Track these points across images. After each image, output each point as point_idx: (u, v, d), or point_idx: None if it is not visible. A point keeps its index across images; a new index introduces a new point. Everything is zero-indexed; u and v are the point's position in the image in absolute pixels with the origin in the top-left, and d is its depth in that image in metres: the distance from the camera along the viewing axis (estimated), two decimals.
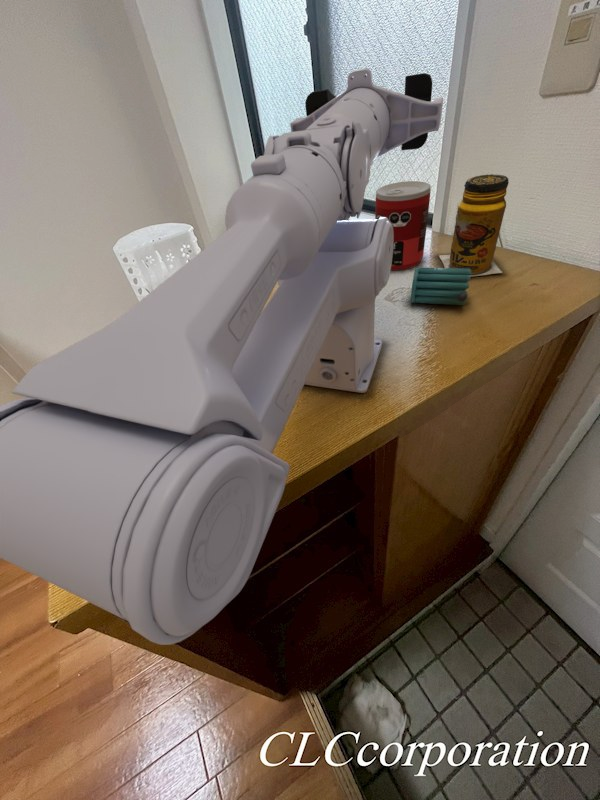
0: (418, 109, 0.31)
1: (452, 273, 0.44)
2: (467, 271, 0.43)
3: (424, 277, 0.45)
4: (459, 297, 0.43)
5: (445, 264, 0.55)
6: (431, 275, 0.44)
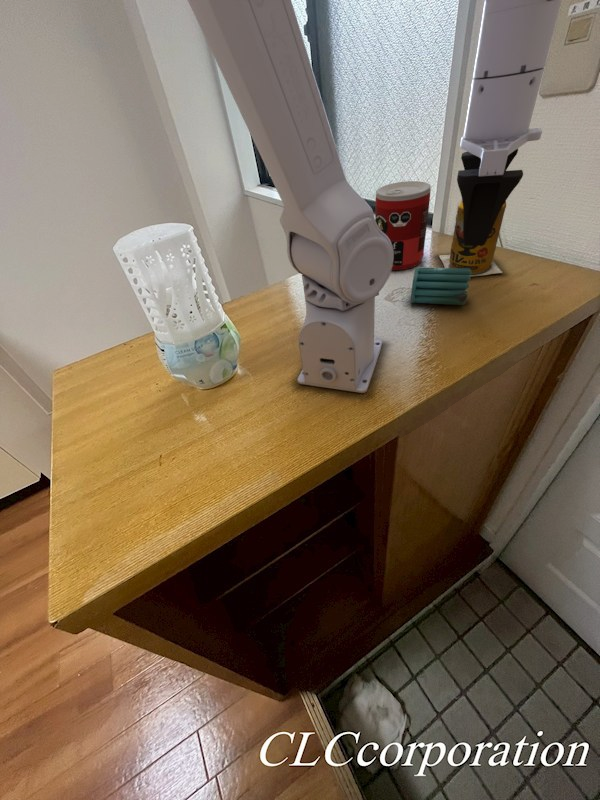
0: None
1: (452, 273, 0.44)
2: (467, 271, 0.43)
3: (424, 277, 0.45)
4: (459, 297, 0.43)
5: (445, 264, 0.55)
6: (431, 275, 0.44)
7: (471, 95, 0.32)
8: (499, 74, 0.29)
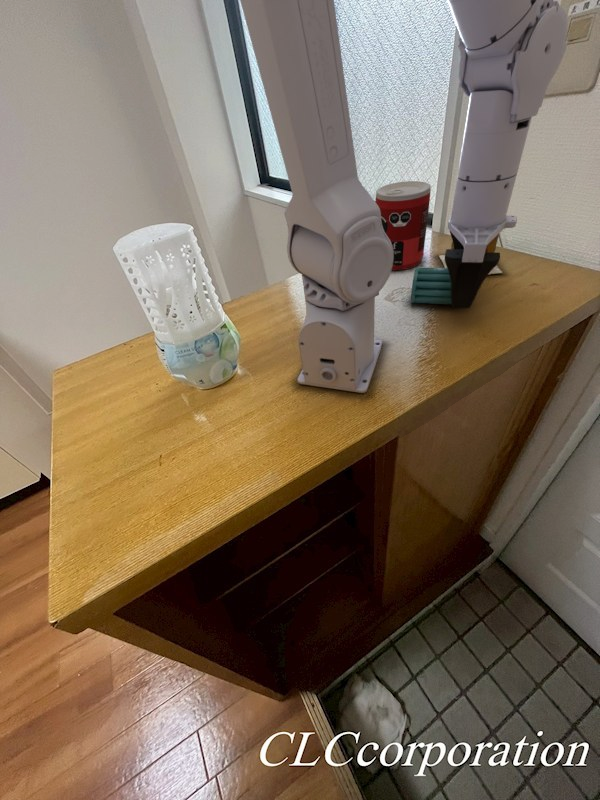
0: (482, 241, 0.36)
1: None
2: None
3: (424, 277, 0.45)
4: None
5: (445, 264, 0.55)
6: (431, 275, 0.44)
7: (456, 190, 0.37)
8: (478, 180, 0.35)
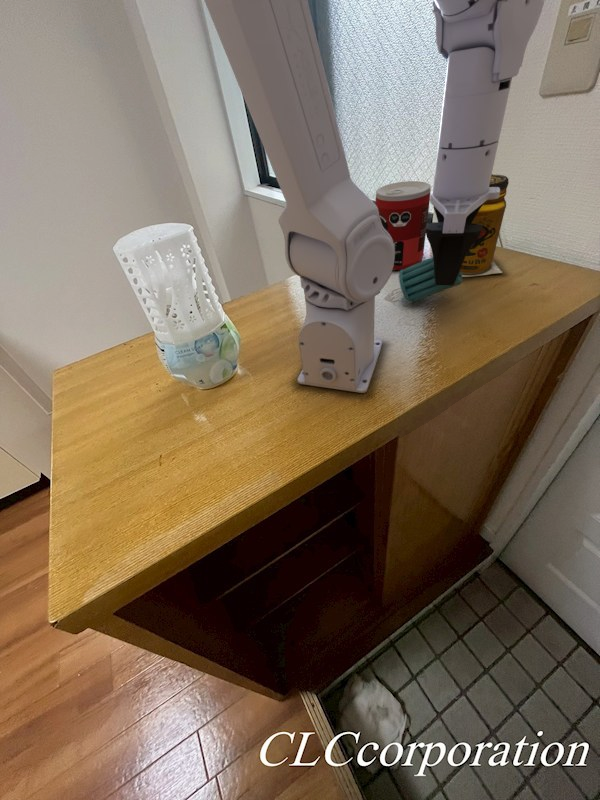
0: (463, 211, 0.35)
1: None
2: None
3: (409, 275, 0.45)
4: None
5: None
6: (414, 271, 0.45)
7: (437, 160, 0.36)
8: (458, 147, 0.33)
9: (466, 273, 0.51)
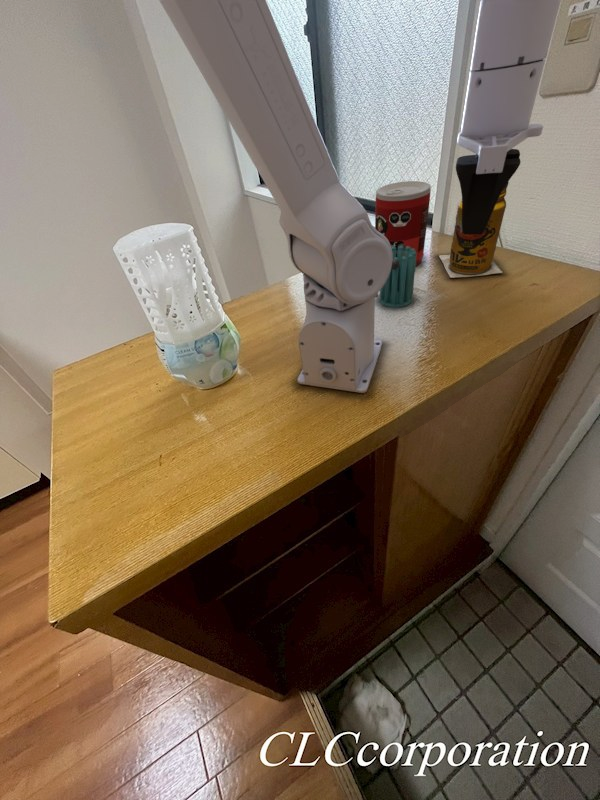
0: None
1: None
2: None
3: (382, 294, 0.48)
4: (393, 268, 0.43)
5: (445, 264, 0.55)
6: None
7: (468, 89, 0.30)
8: (498, 66, 0.28)
9: (466, 273, 0.51)
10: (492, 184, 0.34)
